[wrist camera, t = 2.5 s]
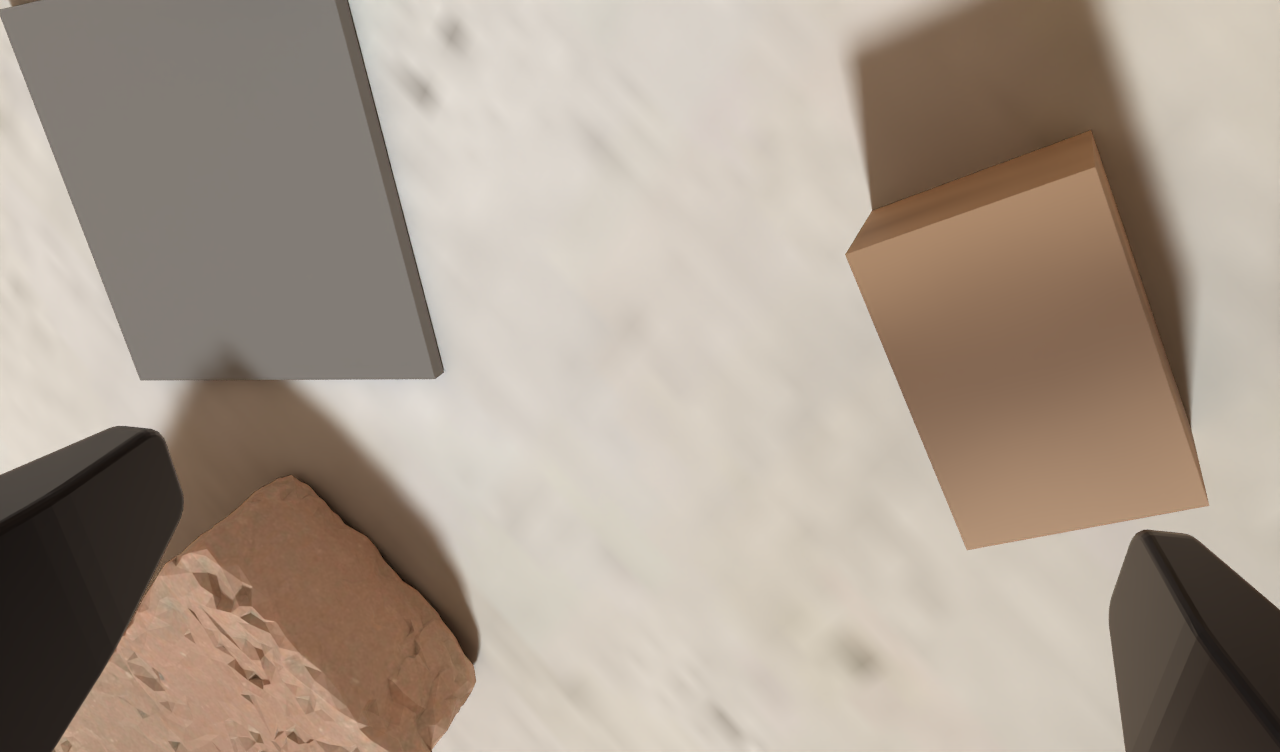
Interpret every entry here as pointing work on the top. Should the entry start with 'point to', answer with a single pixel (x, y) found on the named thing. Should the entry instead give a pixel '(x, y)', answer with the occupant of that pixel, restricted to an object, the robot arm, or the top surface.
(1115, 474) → the walnut offcut
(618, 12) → the top surface
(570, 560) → the top surface
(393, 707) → the brick
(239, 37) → the mat
